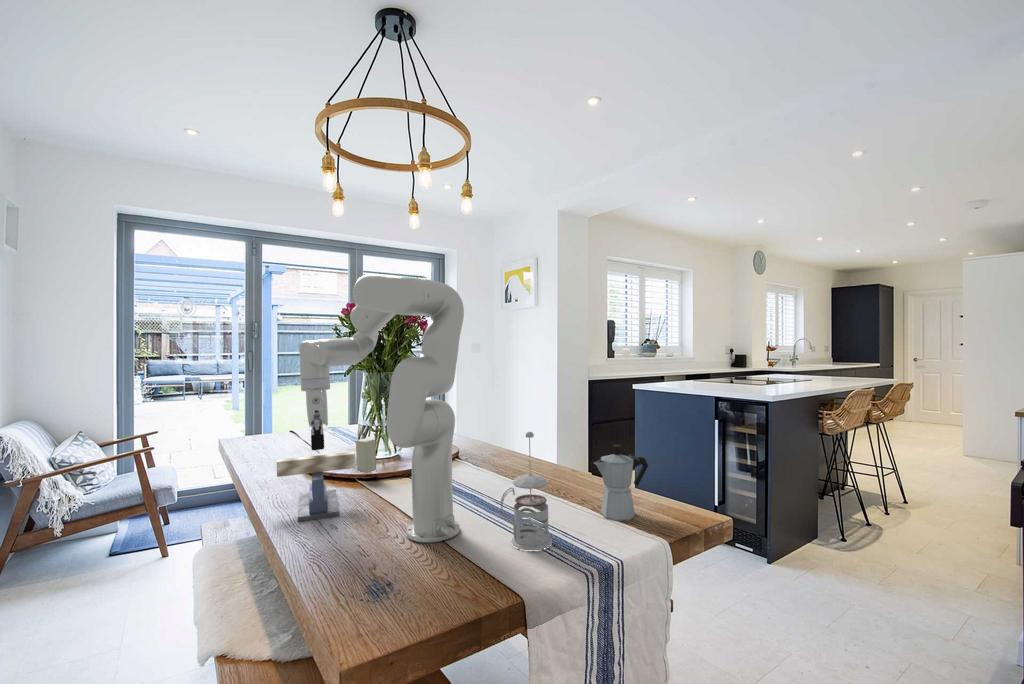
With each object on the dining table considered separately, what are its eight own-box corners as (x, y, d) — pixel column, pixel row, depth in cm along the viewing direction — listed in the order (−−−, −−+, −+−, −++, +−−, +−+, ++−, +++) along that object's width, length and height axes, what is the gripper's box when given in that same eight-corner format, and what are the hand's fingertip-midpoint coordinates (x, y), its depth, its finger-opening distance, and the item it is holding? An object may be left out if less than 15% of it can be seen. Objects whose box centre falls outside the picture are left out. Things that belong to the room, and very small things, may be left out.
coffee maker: (601, 523, 119) (599, 450, 118) (588, 511, 127) (587, 443, 127) (656, 517, 122) (655, 446, 121) (640, 505, 130) (639, 439, 130)
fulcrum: (339, 515, 127) (338, 478, 127) (297, 522, 123) (296, 483, 123) (335, 493, 146) (335, 460, 146) (299, 498, 142) (298, 464, 142)
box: (377, 477, 162) (376, 439, 161) (366, 481, 158) (365, 441, 158) (366, 475, 164) (365, 437, 164) (356, 478, 161) (355, 440, 161)
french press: (557, 550, 104) (554, 435, 104) (503, 553, 103) (501, 437, 103) (549, 532, 114) (547, 426, 114) (500, 535, 113) (498, 428, 113)
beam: (276, 477, 129) (276, 462, 129) (277, 474, 132) (277, 459, 132) (355, 467, 137) (354, 453, 137) (354, 465, 140) (354, 451, 139)
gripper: (330, 386, 127) (333, 450, 128) (329, 381, 143) (331, 439, 144) (300, 388, 125) (302, 454, 125) (301, 383, 141) (303, 442, 141)
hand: (317, 446), depth 134 cm, fingers open, 9 cm apart
